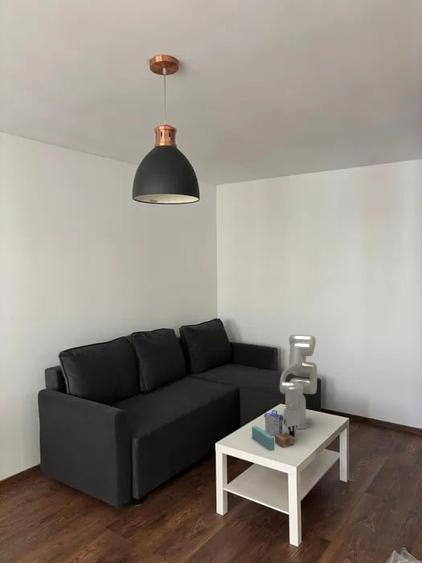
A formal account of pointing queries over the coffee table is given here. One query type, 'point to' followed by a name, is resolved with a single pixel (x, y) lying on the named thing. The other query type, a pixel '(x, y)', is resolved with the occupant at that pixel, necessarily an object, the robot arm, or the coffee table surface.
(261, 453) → the coffee table surface
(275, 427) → the ink cartridge box
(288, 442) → the walnut block
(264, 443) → the teal plank
